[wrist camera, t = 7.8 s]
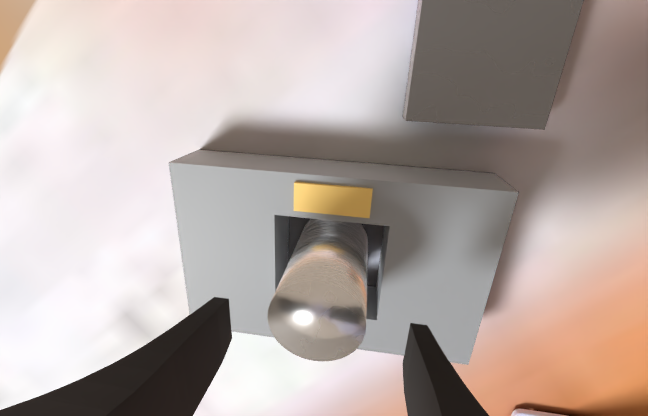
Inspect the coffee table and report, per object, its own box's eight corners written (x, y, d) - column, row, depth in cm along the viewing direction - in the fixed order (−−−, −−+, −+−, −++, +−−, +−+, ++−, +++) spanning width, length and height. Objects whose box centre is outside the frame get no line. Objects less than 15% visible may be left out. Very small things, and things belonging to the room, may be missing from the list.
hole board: (494, 173, 17) (521, 194, 14) (455, 325, 20) (469, 367, 18) (199, 149, 18) (166, 163, 15) (213, 294, 22) (189, 328, 19)
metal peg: (364, 273, 20) (361, 367, 14) (300, 266, 20) (268, 353, 14) (371, 214, 18) (370, 287, 12) (302, 207, 19) (266, 275, 12)
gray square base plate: (571, -25, 13) (594, -37, 12) (529, 124, 16) (544, 129, 14) (422, -27, 14) (427, -39, 13) (402, 116, 16) (405, 120, 15)
